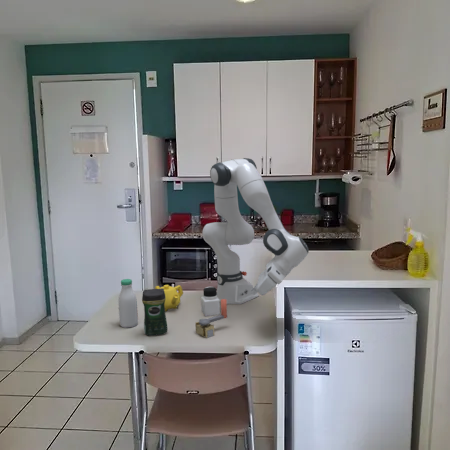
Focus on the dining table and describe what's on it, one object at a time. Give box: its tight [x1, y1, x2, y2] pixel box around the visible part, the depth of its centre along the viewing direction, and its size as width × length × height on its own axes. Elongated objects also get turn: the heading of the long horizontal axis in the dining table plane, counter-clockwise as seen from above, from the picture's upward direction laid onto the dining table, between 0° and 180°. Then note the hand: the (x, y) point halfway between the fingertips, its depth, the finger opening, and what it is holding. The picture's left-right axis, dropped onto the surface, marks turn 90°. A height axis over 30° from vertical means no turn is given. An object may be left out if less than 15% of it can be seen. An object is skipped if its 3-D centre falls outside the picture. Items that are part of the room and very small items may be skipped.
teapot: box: [154, 284, 184, 312], centre depth 204 cm, size 20×18×11 cm
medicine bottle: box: [200, 286, 221, 317], centre depth 196 cm, size 7×7×12 cm
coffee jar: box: [141, 287, 169, 337], centre depth 176 cm, size 10×8×19 cm
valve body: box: [194, 321, 215, 339], centre depth 175 cm, size 8×5×4 cm, turn 37°
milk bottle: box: [118, 278, 139, 328], centre depth 184 cm, size 8×8×20 cm
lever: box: [198, 299, 228, 326], centre depth 176 cm, size 13×4×8 cm, turn 127°
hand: (252, 293), depth 176 cm, fingers closed
